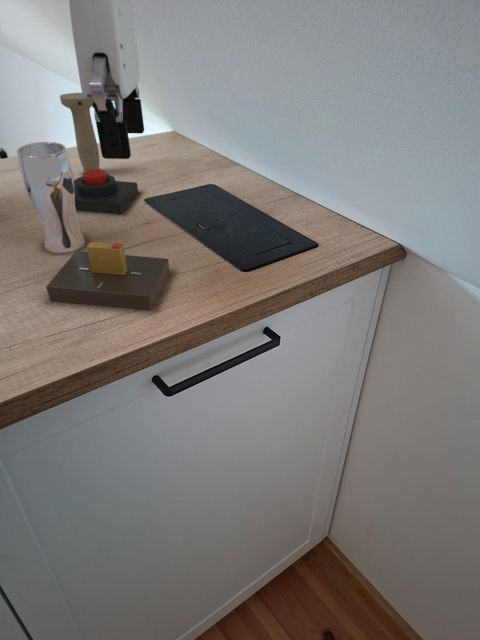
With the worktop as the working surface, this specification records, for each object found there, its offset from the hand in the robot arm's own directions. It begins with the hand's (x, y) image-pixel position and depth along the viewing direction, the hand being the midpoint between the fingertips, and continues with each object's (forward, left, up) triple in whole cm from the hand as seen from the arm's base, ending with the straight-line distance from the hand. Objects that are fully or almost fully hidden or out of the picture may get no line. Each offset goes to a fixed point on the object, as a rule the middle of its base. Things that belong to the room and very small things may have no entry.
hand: (124, 144), depth 60 cm
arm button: (-26, +13, -15) cm, 33 cm away
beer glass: (-17, -1, -19) cm, 26 cm away
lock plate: (-1, -5, -19) cm, 20 cm away
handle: (-38, +21, -19) cm, 48 cm away
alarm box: (-26, +13, -19) cm, 35 cm away
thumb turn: (-1, -5, -16) cm, 17 cm away
